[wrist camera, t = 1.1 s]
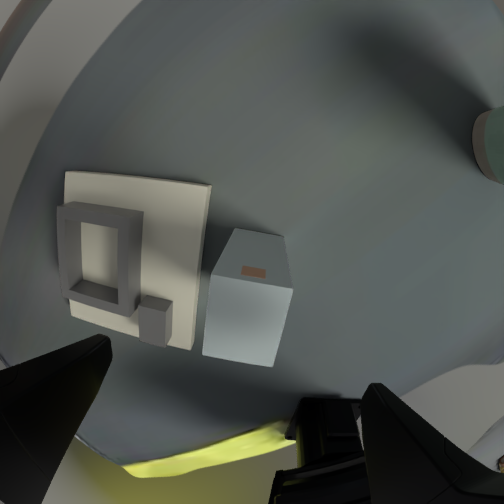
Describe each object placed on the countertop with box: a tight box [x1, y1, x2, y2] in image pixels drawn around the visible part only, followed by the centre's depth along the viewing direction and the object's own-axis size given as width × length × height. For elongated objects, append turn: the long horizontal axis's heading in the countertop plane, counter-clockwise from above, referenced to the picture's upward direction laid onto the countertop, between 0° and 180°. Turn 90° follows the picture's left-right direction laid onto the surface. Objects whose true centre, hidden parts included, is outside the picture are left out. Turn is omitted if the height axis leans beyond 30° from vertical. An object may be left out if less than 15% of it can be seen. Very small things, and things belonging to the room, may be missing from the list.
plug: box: [202, 228, 293, 367], centre depth 15 cm, size 4×3×8 cm
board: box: [57, 171, 212, 350], centre depth 18 cm, size 12×11×3 cm
